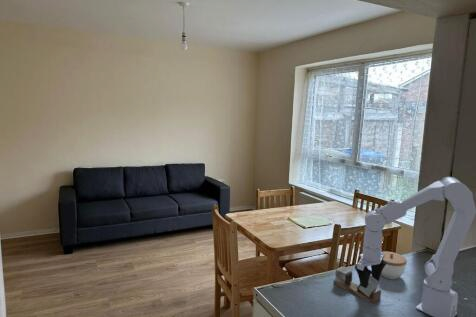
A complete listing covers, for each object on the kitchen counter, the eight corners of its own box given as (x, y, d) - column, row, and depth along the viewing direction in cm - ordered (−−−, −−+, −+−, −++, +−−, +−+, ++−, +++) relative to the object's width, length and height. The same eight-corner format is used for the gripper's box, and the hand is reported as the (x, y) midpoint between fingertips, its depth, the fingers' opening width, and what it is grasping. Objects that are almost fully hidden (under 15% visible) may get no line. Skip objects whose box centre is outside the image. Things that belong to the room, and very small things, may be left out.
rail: (380, 298, 111) (381, 283, 110) (373, 303, 108) (375, 287, 107) (340, 279, 123) (341, 265, 123) (333, 283, 121) (334, 269, 120)
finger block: (374, 293, 112) (379, 282, 110) (368, 297, 110) (373, 286, 108) (363, 284, 115) (368, 273, 114) (357, 287, 113) (362, 277, 111)
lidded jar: (397, 285, 120) (399, 262, 118) (370, 274, 128) (371, 252, 127) (409, 276, 127) (411, 254, 125) (383, 266, 135) (384, 245, 133)
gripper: (372, 237, 117) (369, 272, 119) (350, 247, 108) (347, 284, 110) (391, 243, 112) (388, 280, 114) (369, 254, 103) (366, 294, 105)
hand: (369, 283), depth 111 cm, fingers open, 7 cm apart
